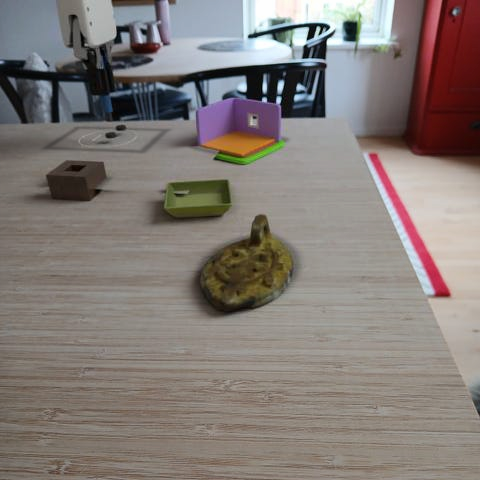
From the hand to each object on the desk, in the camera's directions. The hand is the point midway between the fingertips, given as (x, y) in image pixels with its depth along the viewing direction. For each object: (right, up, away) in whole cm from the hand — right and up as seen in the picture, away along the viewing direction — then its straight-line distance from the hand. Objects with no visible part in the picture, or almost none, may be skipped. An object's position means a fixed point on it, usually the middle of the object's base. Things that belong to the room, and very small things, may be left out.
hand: (103, 92), depth 85 cm
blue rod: (0, -4, +3) cm, 5 cm away
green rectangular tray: (+17, -23, -16) cm, 32 cm away
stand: (-1, -19, -10) cm, 21 cm away
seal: (+23, -33, -30) cm, 50 cm away
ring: (-1, -6, +8) cm, 10 cm away
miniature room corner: (+22, -8, +3) cm, 24 cm away
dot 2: (+1, -4, +8) cm, 9 cm away
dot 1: (0, -6, +5) cm, 8 cm away
